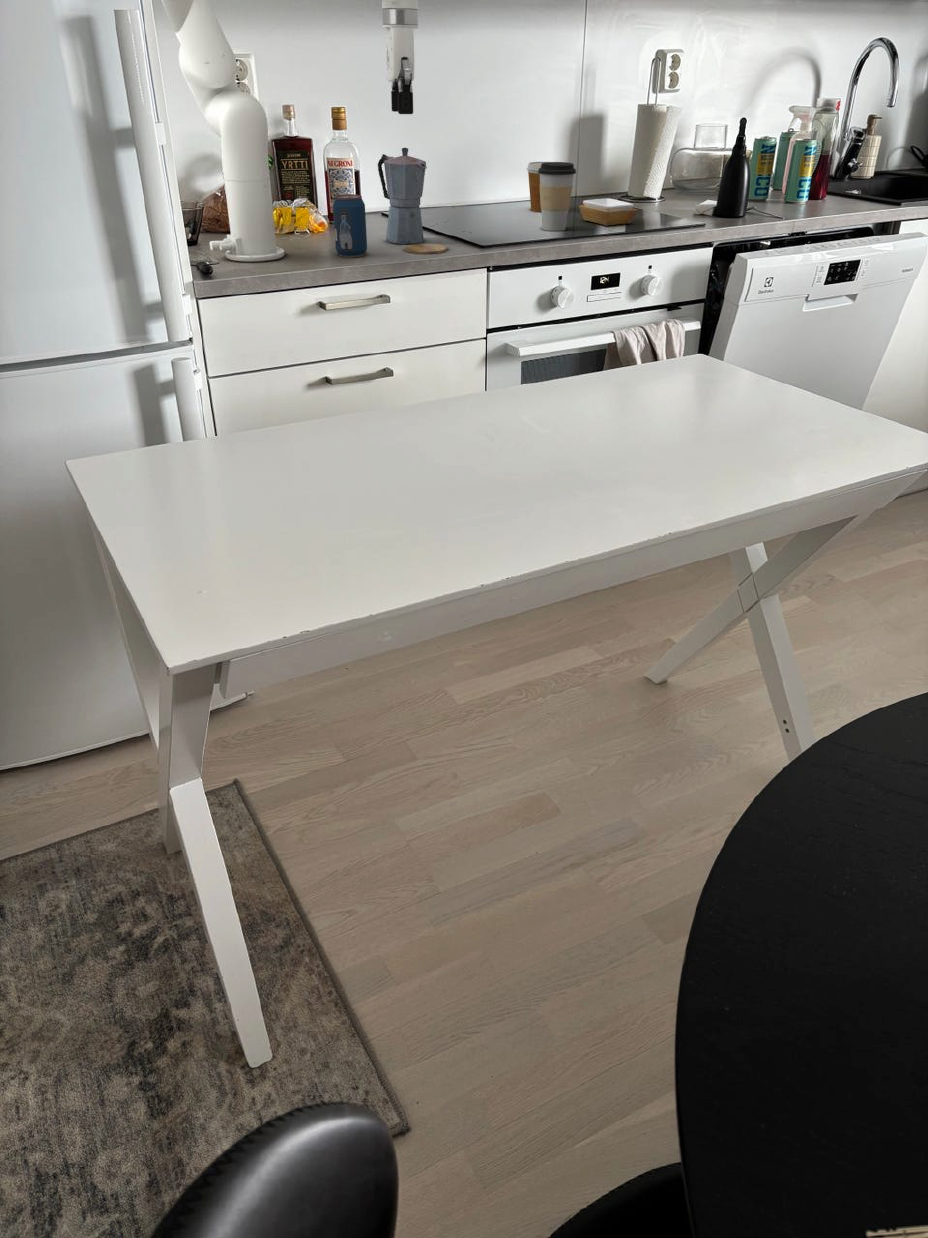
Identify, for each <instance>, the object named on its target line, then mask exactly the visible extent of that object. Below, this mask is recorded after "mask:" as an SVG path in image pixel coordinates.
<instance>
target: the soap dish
mask: <svg viewBox="0 0 928 1238" xmlns="http://www.w3.org/2000/svg"><path fill="white" fill-rule="evenodd" d="M634 206H635V204H634V203H630V202H628V201H623V200H618V199H614V198H608V197H607V198H594V199H585V200H583V201H582V204H580V205H578V207H579V211H580V214H581V217H582V220H584V222H592V223H596V224H599V225H603V226H604V227H610V226H614V225H615V226H616V225H625V224H626V225H630V224H631V223H632V221H633V220H634V218H635V216H636V214H637V212H638V209H636V208H634Z"/></svg>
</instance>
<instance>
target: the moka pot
mask: <svg viewBox="0 0 928 1238" xmlns="http://www.w3.org/2000/svg"><path fill="white" fill-rule="evenodd" d="M401 154H402V155H399V156H388V155H386V154H384V153H383V154H381V158H380V159H379V160H378V162H377V172H378V176H379V179H380V183H381V187H382V193H383V198H384V199H387V200H389V207H388V217H387V224H386V234H385V240H386V241H387V242H388V243H392V244H396V245H417V244H422V242H423V241H424V240H425V239H424V229H423V219H422V210H421V207H420V206H421V199H422V197H423V192H424V184H425V175H426V169H428V167H427V161H426V160H423V159H420V158H417V157H414V156H410V155H409V148H408V147H402V148H401ZM383 166H384V170H383Z"/></svg>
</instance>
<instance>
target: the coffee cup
mask: <svg viewBox="0 0 928 1238" xmlns="http://www.w3.org/2000/svg"><path fill="white" fill-rule="evenodd" d="M544 162H545V163H542V164H541V168H539V171H538V173H540V204H541V212H540V213H541V229H542V231H543V230H544V231H548V232H562V231H565V230H566V229H567V228H566V227H567V222H568V214H569V210H570V206H571V199H572V194H573V193H572V192H573V181H574V175H575V174H577V171H576V168H575V165H574V163H573V162H566V161H544Z"/></svg>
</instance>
